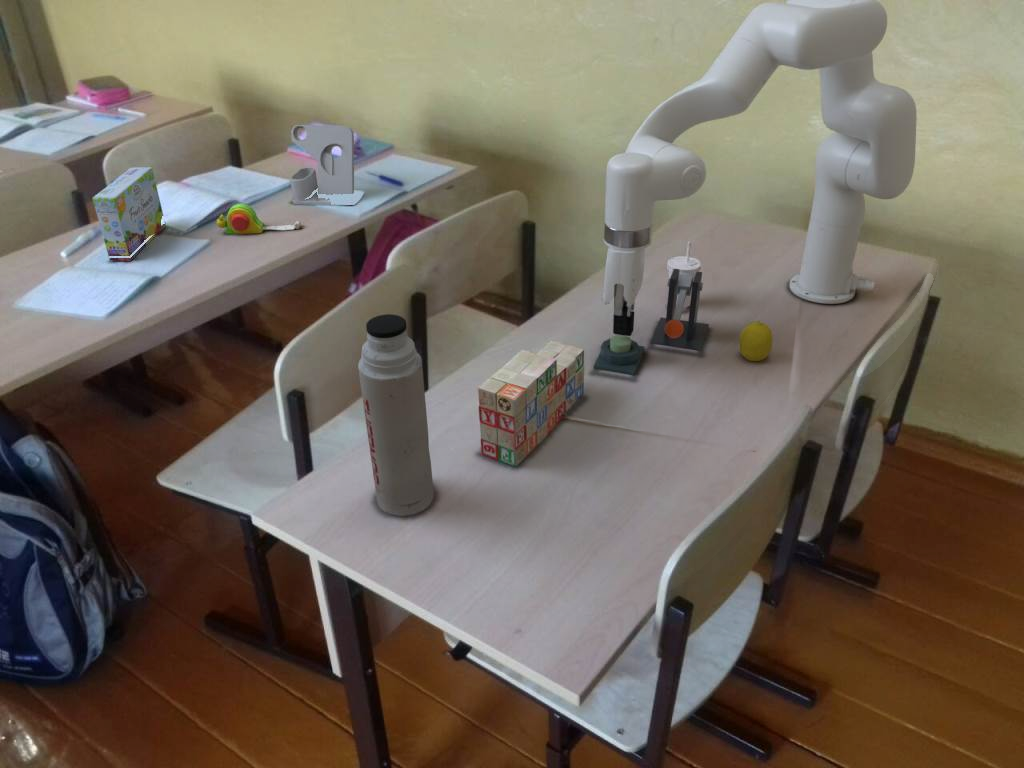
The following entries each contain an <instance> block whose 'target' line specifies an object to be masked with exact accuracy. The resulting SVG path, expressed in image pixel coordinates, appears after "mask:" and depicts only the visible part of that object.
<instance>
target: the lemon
mask: <svg viewBox="0 0 1024 768" xmlns="http://www.w3.org/2000/svg"><path fill="white" fill-rule="evenodd" d="M773 339H774V338H773V332H772V330H771V328H770V327H769V326H768V325H767V324H765V323H764V322H761V321H760V320H759V321H754V322H750V323H749V324H747V325H745V327H744V328H743V329H742V331H741V333H740V336H739V339H738V349H739V352H740V354H741V355H742V356H743V358H745V359H746V360H747V361H751V362H760V361H762V360H764V359H766V358H767V357H768V356H769V354H770V353H771V351H772V347H773V342H774V340H773Z"/></svg>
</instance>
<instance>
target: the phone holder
mask: <svg viewBox="0 0 1024 768" xmlns="http://www.w3.org/2000/svg"><path fill="white" fill-rule="evenodd" d="M300 129H303V130H304V131H305V132H306V134H305V135H306V136H305V138H302V139H301V138H300V137H299V135H298V132H299V130H300ZM290 134H291V140H292V142H293V144H295V145H296V146H297V147H299V148H300V149H301V150H302V151H304V152H305V153H306V154H307V155H309V156H310V157H311V158H313V159H314V160H315V161H316V162H317V171H316V169H315V168H312V167H304V168H301V169H299V170H297V172H295V173H294V174H293V175H292V176H291V177H290V178H289V180H290V187H291V192H292V201H291V202H292V204H294V205H312V206H331V207H333V205H331V202H330V199H329V198H328V199H327V200H326V199H325V198H318V195H317V192H316V193H315V194H314V195H313V196H312V197H311V198H309V199H306V200H303V199H305V198H307V197H309V196H310V195H311V194H312V192H313V191H314V190H316V189H317V188H318V194H326V195H329V194H330V195H333V194H337V195H338V194H341V195H342V194H353V193H354V190H355V133H354V130H353V129H352V128H351V127H350V126H348V125H347V126H346V125H329V124H327V125H325V124H296V125H294V126H293V127H292V129H291V131H290ZM335 147H338V148H339V149H340V151H341V153H340V156H339V157H335V156H334V155H333V153H332V152H333V151H332V150H333V149H334V148H335ZM328 200H329V201H328ZM334 205H335V204H334ZM335 207H338V206H337V205H336V206H335Z"/></svg>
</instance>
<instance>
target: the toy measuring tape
mask: <svg viewBox="0 0 1024 768" xmlns="http://www.w3.org/2000/svg"><path fill="white" fill-rule="evenodd" d="M301 224H302V223H301V221H300V220H296V221H294V224H283V225H270V226H266V225H265V223H264V222H263V221H261V220H260V219H259V218H258V215H257V213H256V211H255V209H254V208H253V207H252V206H251V205H248V204H246V203H236V204H234V205H232V206H231V207H230V208H229V211H227V215H226V218H225V216H224V215H223V214H220V215H219V217H218V219H216V225H217V227H218V228H220V229H225V234H227V235H235V234H236V235H237V234H239V235H249V234H250V235H251V234H262V233H263V232H264V231H266V230H272V231H293V230H295V229H296V230H299V229H300V227H301Z"/></svg>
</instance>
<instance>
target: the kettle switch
mask: <svg viewBox="0 0 1024 768" xmlns="http://www.w3.org/2000/svg"><path fill="white" fill-rule="evenodd" d="M692 285H693V275H688V274H680V278H679V282H678V289H677V294H679V297H678V301H677V305H676V309H675V313H674V317H673V320H670V321H668V322H667V323H666V325H665V333H666V335H667V336H668V337H670V338H678V337H680V336H681V335H682V333H683V330H684V327H683V324H682V323H681V322H680V320H681V319H682V314H683V311H684V310H683V309H684V308H683V306H684V302H685V298H686V295H688V296H690V293H691V289H692Z"/></svg>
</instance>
